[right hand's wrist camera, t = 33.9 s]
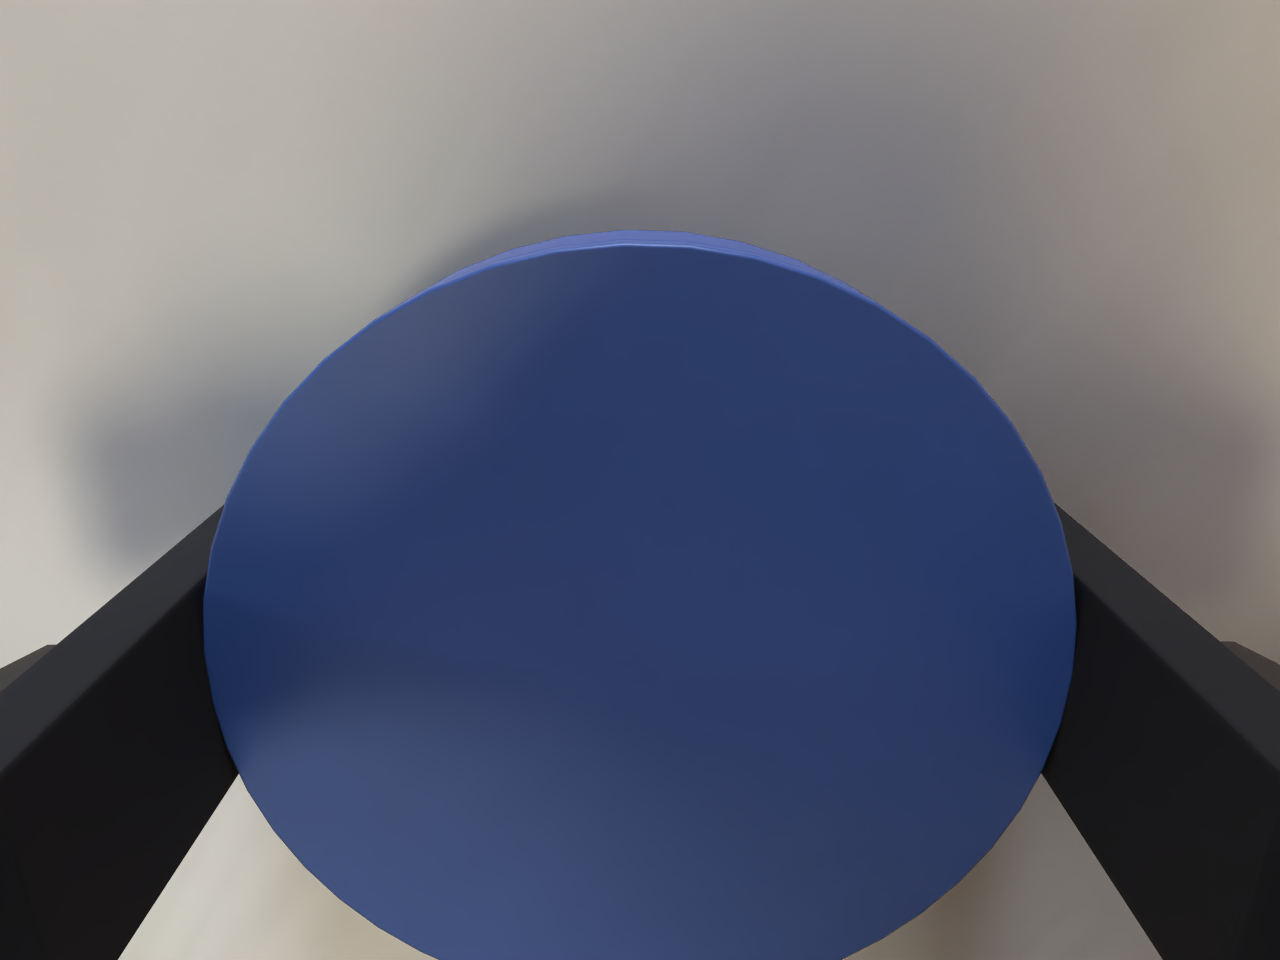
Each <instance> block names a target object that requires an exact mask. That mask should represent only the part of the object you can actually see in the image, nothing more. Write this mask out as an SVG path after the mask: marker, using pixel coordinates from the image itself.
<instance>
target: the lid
mask: <svg viewBox="0 0 1280 960" xmlns="http://www.w3.org/2000/svg"><path fill="white" fill-rule="evenodd" d="M203 617H204V656H205V662H206V667H207V673H208V678H209V683H210V689H211V694H212V699H213V704H214V708H215V712H216V715H217V719H218V722H219V725H220V728H221V731H222V734H223V738H224V741H225V744H226V747H227V749H228V751H229V753H230V755H231V757H232V760H233V762H234V764H235V766H236V768H237V770H238V772H239V774H240V776H241V778H242V780H243V782H244V785H245V787H246V789H247V791H248V792H249V794H250V795H251V797H252V798H253V800H254V801H255V803H256V804H257V806H258V808H259V809H260V811H261V812H262V814H263V815H264V817H265V818H266V820H267V821H268V823H269V824H270V826H271V827H272V829H273V830H274V832H275V833H276V834H277V835H278V836H279V837H280V839H281V840H282V841H283V842H284V843H285V845H286V846H287V847H288V848H289V849H290V850H291V852H292V853H293V854H294V855H295V856H296V857H297V859H298V860H299V861H300V862H301V863H302V864H303V866H304V867H305V868H306V869H307V870H308V871H310V872H311V873H312V874H313V875H314V876H315V877H316V878H317V879H318V880H319V881H320V882H322V883H323V884H324V885H325V886H326V887H327V888H328V889H329V890H330V891H331V892H332V893H333V894H335V895H336V896H337V897H338V898H339V899H340V900H341V901H343V902H344V903H346V904H347V905H348V906H350V907H351V908H352V909H354V910H355V911H356V912H358V913H359V914H361V915H362V916H363V917H365V918H366V919H367V920H369V921H370V922H372V923H373V924H374V925H376V926H377V927H378V928H380V929H382V930H384V931H385V932H387V933H389V934H391V935H392V936H394V937H396V938H398V939H399V940H401V941H403V942H405V943H406V944H408V945H410V946H412V947H413V948H415V949H417V950H419V951H420V952H423V953H425V954H427V955H429V956H432V957H434V958H436V959H438V960H842V959H844V958H846V957H848V956H850V955H852V954H854V953H856V952H858V951H860V950H861V949H863V948H865V947H867V946H869V945H871V944H873V943H875V942H877V941H879V940H881V939H883V938H884V937H886V936H887V935H889V934H890V933H892V932H894V931H895V930H897V929H898V928H900V927H901V926H903V925H904V924H906V923H907V922H909V921H910V920H912V919H913V918H915V917H916V916H918V915H920V914H921V913H922V912H924V911H925V910H926V909H927V908H929V907H930V906H931V905H932V904H933V903H935V902H936V901H937V900H938V899H939V898H941V897H942V896H943V895H944V894H945V893H947V892H948V891H949V890H950V889H952V888H953V887H954V886H955V885H956V884H958V883H959V882H960V881H961V880H962V879H963V878H964V877H965V875H966V874H967V873H968V872H969V871H970V870H971V869H972V868H973V867H974V866H975V865H976V864H977V863H978V862H979V861H980V860H981V859H982V858H983V857H984V856H985V855H986V854H987V852H988V851H989V850H990V849H991V848H992V847H993V846H994V844H995V843H996V842H997V840H998V839H999V838H1000V836H1001V835H1002V834H1003V832H1004V831H1005V830H1006V828H1007V827H1008V826H1009V824H1010V823H1011V822H1012V820H1013V819H1014V817H1015V816H1016V815H1017V813H1018V812H1019V811H1020V809H1021V808H1022V806H1023V804H1024V802H1025V800H1026V799H1027V797H1028V795H1029V793H1030V791H1031V790H1032V788H1033V786H1034V784H1035V783H1036V781H1037V779H1038V777H1039V775H1040V774H1041V772H1042V770H1043V768H1044V766H1045V763H1046V761H1047V758H1048V756H1049V753H1050V751H1051V748H1052V745H1053V743H1054V740H1055V738H1056V735H1057V733H1058V730H1059V728H1060V725H1061V722H1062V718H1063V714H1064V710H1065V705H1066V701H1067V697H1068V693H1069V688H1070V684H1071V679H1072V674H1073V665H1074V653H1075V640H1076V628H1077V622H1076V608H1075V594H1074V579H1073V571H1072V566H1071V562H1070V558H1069V553H1068V549H1067V545H1066V540H1065V536H1064V531H1063V527H1062V523H1061V520H1060V517H1059V515H1058V512H1057V510H1056V507H1055V505H1054V502H1053V500H1052V498H1051V495H1050V493H1049V490H1048V488H1047V485H1046V483H1045V480H1044V478H1043V475H1042V473H1041V471H1040V469H1039V467H1038V466H1037V464H1036V462H1035V461H1034V459H1033V457H1032V456H1031V454H1030V452H1029V450H1028V449H1027V447H1026V445H1025V444H1024V442H1023V440H1022V439H1021V437H1020V435H1019V434H1018V432H1017V430H1016V429H1015V427H1014V425H1013V424H1012V422H1011V421H1010V420H1009V419H1008V418H1007V416H1006V415H1005V414H1004V413H1003V411H1002V410H1001V409H1000V408H999V407H998V405H997V404H996V403H995V402H994V401H993V399H992V398H991V397H990V396H989V394H988V393H987V392H986V391H985V390H984V388H983V387H982V386H981V385H980V384H979V382H978V381H977V380H976V379H975V378H974V377H973V376H972V375H971V374H970V373H969V372H968V371H966V370H965V369H964V368H963V367H962V366H961V365H960V364H959V363H957V362H956V361H955V360H954V359H953V358H952V357H951V356H950V355H949V354H947V353H946V352H945V351H944V350H943V349H942V348H941V347H940V346H939V345H937V344H936V343H935V342H934V341H933V340H932V339H931V338H929V337H928V336H926V335H925V334H923V333H922V332H920V331H919V330H917V329H916V328H914V327H913V326H911V325H910V324H908V323H907V322H905V321H904V320H902V319H901V318H899V317H898V316H896V315H895V314H893V313H892V312H890V311H889V310H887V309H886V308H884V307H883V306H881V305H880V304H878V303H877V302H875V301H873V300H872V299H870V298H869V297H867V296H865V295H864V294H862V293H860V292H859V291H857V290H856V289H854V288H852V287H851V286H849V285H848V284H846V283H844V282H842V281H840V280H838V279H836V278H834V277H832V276H830V275H828V274H825V273H823V272H821V271H819V270H817V269H815V268H813V267H811V266H809V265H807V264H804V263H802V262H800V261H798V260H796V259H794V258H791V257H787V256H784V255H781V254H778V253H775V252H772V251H768V250H765V249H762V248H759V247H756V246H753V245H749V244H746V243H743V242H740V241H734V240H728V239H722V238H717V237H711V236H705V235H699V234H693V233H687V232H675V231H644V230H618V231H609V232H599V233H589V234H580V235H570V236H564V237H560V238H556V239H552V240H548V241H544V242H540V243H535V244H531V245H527V246H523V247H519V248H515V249H511V250H508V251H506V252H503V253H501V254H498V255H496V256H493V257H491V258H488V259H486V260H483V261H481V262H478V263H476V264H473V265H471V266H468V267H466V268H463V269H461V270H458V271H456V272H455V273H453V274H451V275H449V276H448V277H446V278H444V279H442V280H441V281H439V282H437V283H435V284H434V285H432V286H430V287H428V288H426V289H425V290H423V291H421V292H419V293H418V294H416V295H414V296H412V297H411V298H409V299H407V300H406V301H404V302H403V303H401V304H399V305H398V306H396V307H395V308H393V309H391V310H390V311H388V312H387V313H385V314H383V315H382V316H380V317H378V318H377V319H375V320H374V321H372V322H371V323H370V324H368V325H367V326H366V327H365V328H363V329H362V330H361V331H359V332H358V333H357V334H356V335H354V336H353V337H352V338H350V339H349V340H348V341H347V342H345V343H344V344H343V345H341V346H340V347H339V348H338V349H336V350H335V351H334V352H332V353H331V354H330V355H329V356H327V357H326V358H325V359H324V360H323V361H322V362H321V363H320V364H319V365H318V366H317V367H316V368H315V369H314V370H313V371H312V372H311V373H310V374H309V376H308V377H307V378H306V379H305V380H304V381H303V382H302V383H301V384H300V385H299V386H298V387H297V388H296V389H295V390H294V391H293V392H292V393H291V394H290V395H289V397H288V398H287V399H286V400H285V401H284V402H283V403H282V405H281V406H280V408H279V409H278V410H277V412H276V413H275V415H274V416H273V418H272V419H271V420H270V422H269V423H268V425H267V426H266V428H265V429H264V430H263V432H262V433H261V435H260V436H259V438H258V439H257V440H256V442H255V443H254V445H253V446H252V448H251V449H250V451H249V453H248V455H247V457H246V459H245V461H244V464H243V466H242V468H241V470H240V472H239V474H238V476H237V478H236V480H235V482H234V484H233V486H232V488H231V490H230V492H229V494H228V496H227V498H226V502H225V505H224V508H223V511H222V514H221V518H220V521H219V524H218V527H217V531H216V534H215V537H214V540H213V544H212V547H211V551H210V558H209V565H208V572H207V579H206V586H205V593H204V600H203Z"/></svg>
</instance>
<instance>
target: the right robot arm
mask: <svg viewBox="0 0 1280 960" xmlns="http://www.w3.org/2000/svg"><path fill="white" fill-rule="evenodd" d="M224 505H225V504H224ZM224 505H223V506H222V507H221V508H220V509H218V510H217V511H216V512H215V513H214V514H212V515H211V516H210V517H209V518H208V519H206V520H205V521H204V522H203V523H202V524H201V525H199V526H198V527H197V528H196V529H195V530H193V531H192V532H191V533H190V534H189V535H187V536H186V537H185V538H184V539H183V540H181V541H180V542H179V543H178V544H177V545H175V546H174V547H173V548H172V549H171V550H169V551H168V552H167V553H166V554H165V555H164V556H162V557H161V558H160V559H159V560H158V561H156V562H155V563H154V564H153V565H152V566H150V567H149V568H148V569H147V570H146V571H144V572H143V573H142V574H141V575H140V576H138V577H137V578H136V579H135V580H134V581H132V582H131V583H130V584H129V585H128V586H127V587H125V588H124V589H123V590H122V591H121V592H119V593H118V594H117V595H116V596H115V597H113V598H112V599H111V600H110V601H109V602H107V603H106V604H105V605H104V606H103V607H101V608H100V609H99V610H98V611H97V612H95V613H94V614H93V615H92V616H91V617H89V618H88V619H87V620H86V621H85V622H84V623H82V624H81V625H80V626H79V627H78V628H76V629H75V630H74V631H73V632H72V633H70V634H69V635H68V636H67V637H66V638H64V639H63V640H62V641H61V642H60V643H58V644H57V645H46V646H44V647H42V648H40V649H38V650H36V651H34V652H32V653H30V654H28V655H27V656H25V657H23V658H21V659H19V660H17V661H15V662H13V663H11V664H9V665H7V666H5V667H3V668H1V669H0V960H118V958H119V957H120V955H121V954H122V952H123V951H124V949H125V948H126V946H127V945H128V943H129V941H130V940H131V938H132V937H133V935H134V934H135V932H136V931H137V929H138V928H139V926H140V925H141V923H142V921H143V920H144V918H145V917H146V915H147V914H148V912H149V911H150V909H151V908H152V906H153V905H154V903H155V901H156V900H157V898H158V897H159V895H160V894H161V892H162V891H163V889H164V888H165V886H166V885H167V883H168V882H169V880H170V878H171V877H172V875H173V874H174V872H175V871H176V869H177V868H178V866H179V865H180V863H181V862H182V860H183V858H184V857H185V855H186V854H187V852H188V851H189V849H190V848H191V846H192V845H193V843H194V842H195V840H196V839H197V837H198V835H199V834H200V832H201V831H202V829H203V828H204V826H205V825H206V823H207V822H208V820H209V819H210V817H211V815H212V814H213V812H214V811H215V809H216V808H217V806H218V805H219V803H220V802H221V800H222V799H223V797H224V795H225V794H226V792H227V791H228V789H229V788H230V786H231V785H232V783H233V782H234V780H235V779H236V777H237V776H238V774H239V772H238V770H237V768H236V766H235V764H234V762H233V760H232V757H231V755H230V753H229V751H228V749H227V747H226V744H225V741H224V738H223V734H222V731H221V728H220V725H219V722H218V719H217V715H216V712H215V708H214V704H213V699H212V694H211V689H210V683H209V678H208V673H207V667H206V662H205V656H204V617H203V600H204V593H205V586H206V579H207V572H208V565H209V558H210V551H211V547H212V544H213V540H214V537H215V534H216V531H217V527H218V524H219V521H220V518H221V514H222V511H223V508H224ZM1054 505H1055V507H1056V510H1057V512H1058V515H1059V517H1060V520H1061V523H1062V527H1063V531H1064V536H1065V540H1066V545H1067V549H1068V553H1069V558H1070V562H1071V566H1072V571H1073V579H1074V594H1075V608H1076V622H1077V628H1076V640H1075V653H1074V665H1073V674H1072V679H1071V684H1070V688H1069V693H1068V697H1067V701H1066V705H1065V710H1064V714H1063V718H1062V722H1061V725H1060V728H1059V730H1058V733H1057V735H1056V738H1055V740H1054V743H1053V745H1052V748H1051V751H1050V753H1049V756H1048V758H1047V761H1046V763H1045V766H1044V768H1043V770H1042V772H1041V773H1042V775H1043V776H1044V778H1045V779H1046V781H1047V782H1048V784H1049V785H1050V787H1051V789H1052V790H1053V792H1054V793H1055V795H1056V796H1057V798H1058V799H1059V801H1060V802H1061V804H1062V805H1063V807H1064V808H1065V810H1066V812H1067V813H1068V815H1069V816H1070V818H1071V819H1072V821H1073V822H1074V824H1075V825H1076V827H1077V828H1078V830H1079V832H1080V833H1081V835H1082V836H1083V838H1084V839H1085V841H1086V842H1087V844H1088V845H1089V847H1090V848H1091V850H1092V852H1093V853H1094V855H1095V856H1096V858H1097V859H1098V861H1099V862H1100V864H1101V865H1102V867H1103V868H1104V870H1105V871H1106V873H1107V875H1108V876H1109V878H1110V879H1111V881H1112V882H1113V884H1114V885H1115V887H1116V888H1117V890H1118V891H1119V893H1120V895H1121V896H1122V898H1123V899H1124V901H1125V902H1126V904H1127V905H1128V907H1129V908H1130V910H1131V911H1132V913H1133V915H1134V916H1135V918H1136V919H1137V921H1138V922H1139V924H1140V925H1141V927H1142V928H1143V930H1144V931H1145V933H1146V935H1147V936H1148V938H1149V939H1150V941H1151V942H1152V944H1153V945H1154V947H1155V948H1156V950H1157V951H1158V953H1159V954H1160V956H1161V958H1162V959H1163V960H1280V665H1279V664H1277V663H1275V662H1273V661H1271V660H1269V659H1267V658H1265V657H1263V656H1261V655H1259V654H1257V653H1255V652H1253V651H1251V650H1249V649H1247V648H1245V647H1243V646H1241V645H1239V644H1237V643H1235V642H1220V641H1219V640H1217V639H1216V638H1215V637H1214V636H1213V635H1211V634H1210V633H1209V632H1208V631H1207V630H1205V629H1204V628H1203V627H1202V626H1201V625H1199V624H1198V623H1197V622H1196V621H1195V620H1193V619H1192V618H1191V617H1190V616H1189V615H1188V614H1186V613H1185V612H1184V611H1183V610H1182V609H1180V608H1179V607H1178V606H1177V605H1176V604H1174V603H1173V602H1172V601H1171V600H1170V599H1168V598H1167V597H1166V596H1165V595H1164V594H1162V593H1161V592H1160V591H1159V590H1158V589H1156V588H1155V587H1154V586H1153V585H1152V584H1151V583H1149V582H1148V581H1147V580H1146V579H1145V578H1143V577H1142V576H1141V575H1140V574H1139V573H1137V572H1136V571H1135V570H1134V569H1133V568H1131V567H1130V566H1129V565H1128V564H1127V563H1125V562H1124V561H1123V560H1122V559H1121V558H1119V557H1118V556H1117V555H1116V554H1115V553H1113V552H1112V551H1111V550H1110V549H1109V548H1108V547H1106V546H1105V545H1104V544H1103V543H1102V542H1100V541H1099V540H1098V539H1097V538H1096V537H1094V536H1093V535H1092V534H1091V533H1090V532H1088V531H1087V530H1086V529H1085V528H1084V527H1082V526H1081V525H1080V524H1079V523H1078V522H1076V521H1075V520H1074V519H1073V518H1072V517H1071V516H1069V515H1068V514H1067V513H1066V512H1065V511H1063V510H1062V509H1061V508H1060V507H1059V506H1057V505H1056V504H1055V503H1054Z"/></svg>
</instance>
